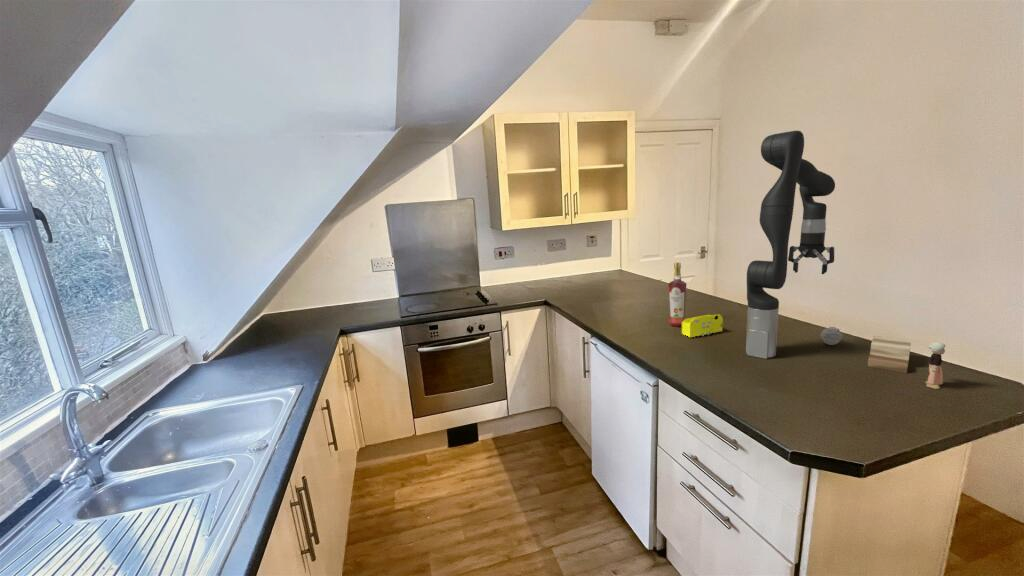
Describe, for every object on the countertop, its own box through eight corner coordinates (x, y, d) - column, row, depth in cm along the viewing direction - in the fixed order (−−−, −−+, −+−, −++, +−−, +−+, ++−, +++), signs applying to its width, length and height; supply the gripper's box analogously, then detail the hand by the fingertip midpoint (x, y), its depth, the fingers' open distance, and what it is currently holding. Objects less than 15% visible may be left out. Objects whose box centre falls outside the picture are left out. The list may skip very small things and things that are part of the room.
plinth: (906, 373, 123) (909, 354, 122) (867, 366, 130) (869, 348, 128) (908, 358, 133) (911, 340, 132) (872, 352, 139) (874, 335, 138)
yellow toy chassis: (690, 339, 165) (691, 319, 163) (681, 335, 170) (681, 316, 168) (723, 333, 169) (723, 313, 167) (712, 329, 174) (713, 310, 173)
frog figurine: (822, 347, 146) (824, 329, 145) (818, 341, 153) (819, 323, 151) (843, 349, 144) (845, 330, 142) (838, 342, 150) (840, 324, 149)
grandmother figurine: (946, 391, 112) (953, 347, 109) (927, 389, 114) (933, 346, 111) (937, 380, 118) (944, 338, 115) (919, 378, 120) (925, 337, 117)
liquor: (687, 323, 184) (688, 261, 178) (684, 328, 178) (684, 264, 172) (670, 321, 188) (670, 261, 182) (666, 326, 182) (666, 264, 176)
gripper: (788, 232, 158) (785, 273, 161) (835, 232, 148) (831, 276, 151) (792, 230, 163) (789, 270, 167) (838, 230, 154) (833, 272, 157)
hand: (809, 273), depth 159 cm, fingers open, 8 cm apart
